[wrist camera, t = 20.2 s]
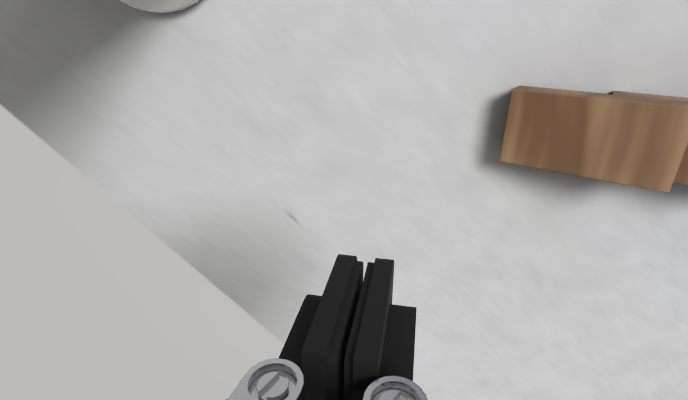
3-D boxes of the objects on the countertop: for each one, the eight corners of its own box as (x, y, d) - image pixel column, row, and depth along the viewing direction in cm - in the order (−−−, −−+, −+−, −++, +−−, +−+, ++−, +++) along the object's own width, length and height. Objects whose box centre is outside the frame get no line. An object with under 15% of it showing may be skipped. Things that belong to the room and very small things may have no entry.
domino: (499, 160, 30) (669, 192, 25) (511, 90, 28) (700, 109, 23) (507, 152, 32) (667, 180, 27) (519, 85, 29) (695, 102, 24)
